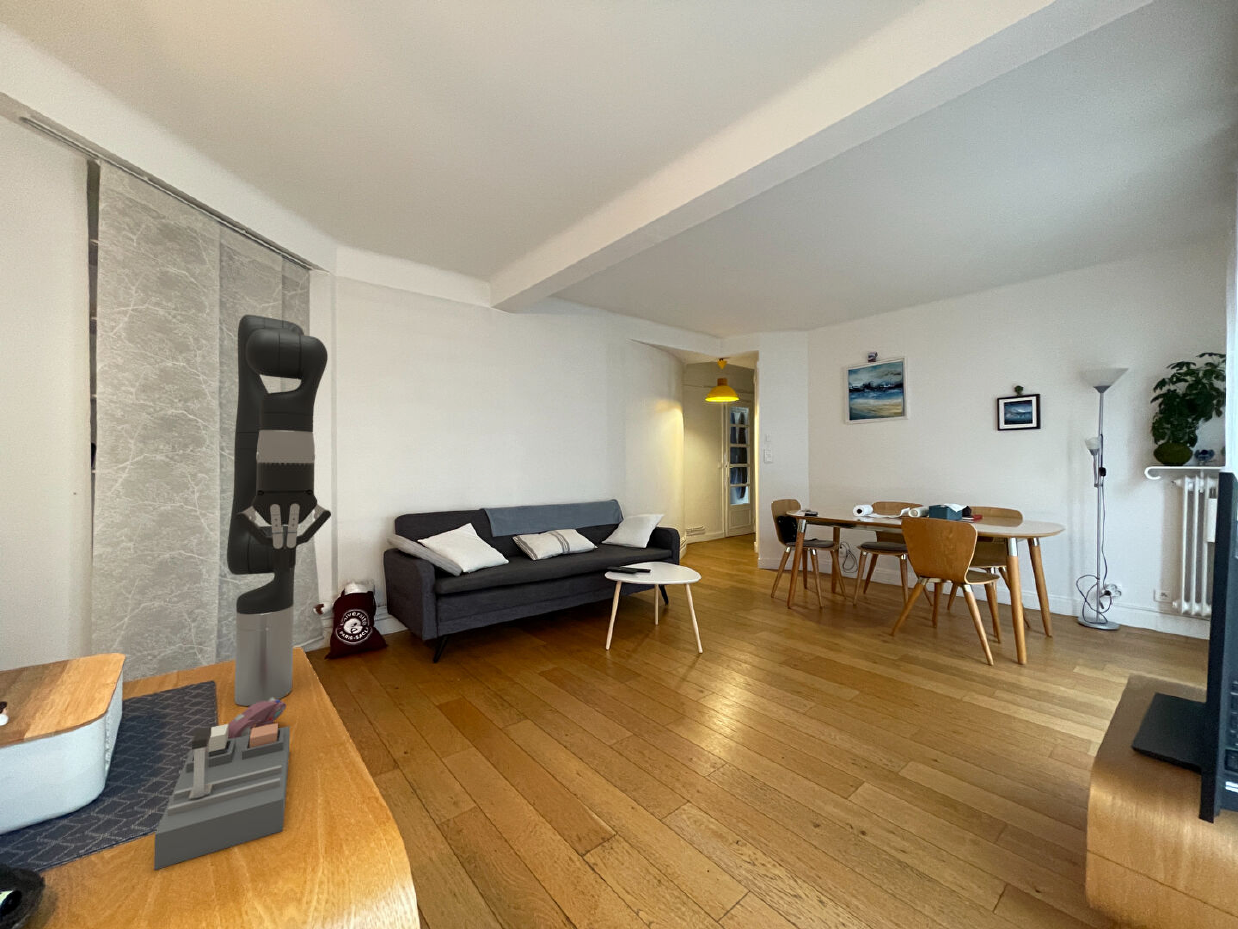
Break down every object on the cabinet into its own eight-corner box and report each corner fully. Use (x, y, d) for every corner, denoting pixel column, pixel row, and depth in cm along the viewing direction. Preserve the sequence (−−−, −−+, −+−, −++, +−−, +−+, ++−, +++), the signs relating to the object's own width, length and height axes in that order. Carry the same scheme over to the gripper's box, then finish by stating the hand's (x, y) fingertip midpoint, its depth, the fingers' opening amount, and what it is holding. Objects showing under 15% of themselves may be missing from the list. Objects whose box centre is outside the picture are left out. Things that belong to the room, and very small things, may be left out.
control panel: (191, 774, 73) (191, 739, 73) (289, 751, 79) (289, 718, 79) (154, 870, 56) (155, 824, 56) (282, 831, 62) (283, 789, 62)
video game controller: (225, 765, 78) (243, 727, 78) (204, 748, 79) (221, 711, 78) (279, 732, 88) (295, 698, 87) (260, 717, 89) (275, 684, 88)
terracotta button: (251, 741, 74) (252, 728, 74) (277, 736, 76) (278, 722, 76) (249, 752, 71) (249, 738, 71) (276, 746, 73) (276, 732, 73)
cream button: (199, 743, 71) (200, 729, 71) (228, 737, 73) (228, 724, 73) (195, 755, 68) (195, 740, 68) (224, 748, 70) (225, 734, 70)
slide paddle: (193, 793, 63) (194, 730, 63) (213, 788, 64) (214, 726, 64) (187, 808, 60) (188, 742, 60) (208, 803, 61) (209, 738, 61)
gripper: (334, 461, 85) (332, 563, 85) (236, 459, 78) (234, 570, 78) (336, 461, 78) (334, 571, 78) (229, 459, 72) (227, 580, 71)
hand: (284, 571), depth 78 cm, fingers closed
